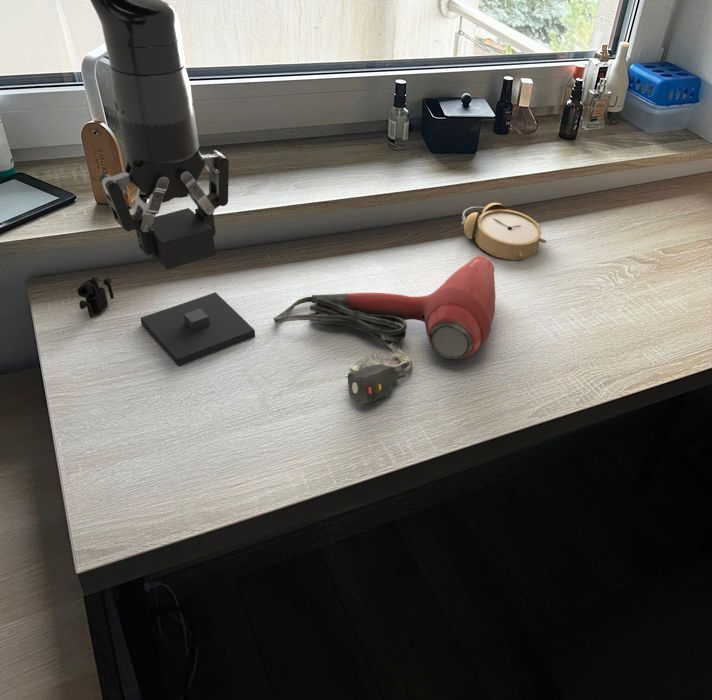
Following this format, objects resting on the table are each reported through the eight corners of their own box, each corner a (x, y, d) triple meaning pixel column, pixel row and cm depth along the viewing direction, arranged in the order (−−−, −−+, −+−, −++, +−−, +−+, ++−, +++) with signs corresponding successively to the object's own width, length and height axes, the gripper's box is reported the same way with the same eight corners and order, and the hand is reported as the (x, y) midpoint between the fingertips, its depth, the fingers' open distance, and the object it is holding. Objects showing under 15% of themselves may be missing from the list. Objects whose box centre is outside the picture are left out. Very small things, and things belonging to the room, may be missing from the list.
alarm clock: (518, 253, 118) (450, 206, 123) (509, 276, 121) (444, 229, 126) (555, 231, 125) (490, 187, 130) (546, 253, 128) (483, 209, 133)
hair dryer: (448, 258, 120) (453, 209, 115) (550, 338, 105) (561, 286, 100) (262, 316, 103) (257, 262, 97) (354, 421, 88) (354, 365, 83)
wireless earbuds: (89, 326, 97) (81, 295, 94) (72, 322, 98) (63, 291, 94) (119, 298, 103) (111, 268, 100) (102, 295, 103) (94, 264, 100)
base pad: (178, 366, 93) (175, 350, 91) (141, 324, 99) (138, 309, 97) (255, 336, 99) (253, 321, 97) (216, 298, 105) (214, 283, 103)
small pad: (167, 270, 83) (162, 242, 81) (145, 247, 86) (139, 220, 84) (216, 255, 86) (212, 228, 84) (192, 233, 90) (188, 207, 87)
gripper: (99, 134, 69) (132, 280, 80) (236, 108, 78) (250, 243, 88) (70, 108, 74) (105, 250, 84) (203, 86, 82) (221, 218, 92)
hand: (179, 246), depth 86 cm, fingers closed on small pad, 6 cm apart
